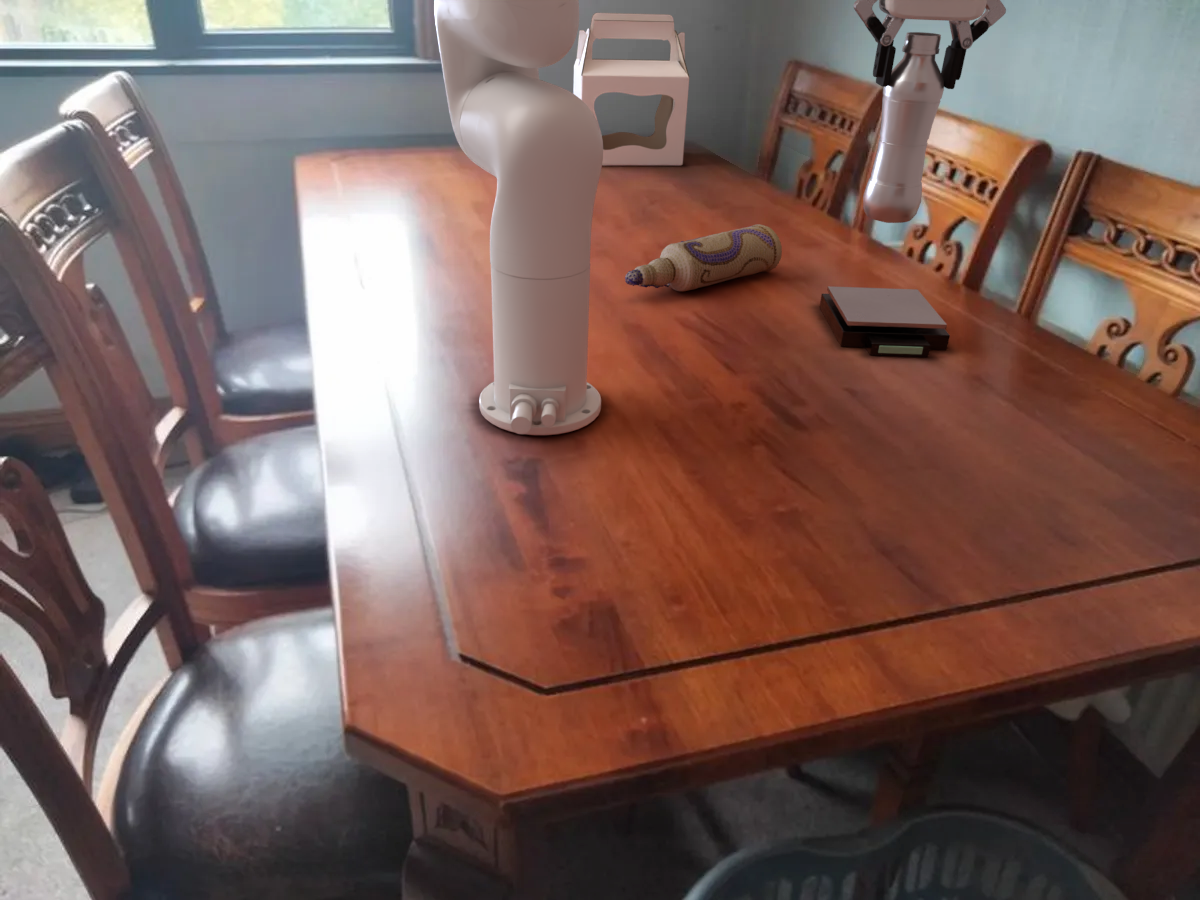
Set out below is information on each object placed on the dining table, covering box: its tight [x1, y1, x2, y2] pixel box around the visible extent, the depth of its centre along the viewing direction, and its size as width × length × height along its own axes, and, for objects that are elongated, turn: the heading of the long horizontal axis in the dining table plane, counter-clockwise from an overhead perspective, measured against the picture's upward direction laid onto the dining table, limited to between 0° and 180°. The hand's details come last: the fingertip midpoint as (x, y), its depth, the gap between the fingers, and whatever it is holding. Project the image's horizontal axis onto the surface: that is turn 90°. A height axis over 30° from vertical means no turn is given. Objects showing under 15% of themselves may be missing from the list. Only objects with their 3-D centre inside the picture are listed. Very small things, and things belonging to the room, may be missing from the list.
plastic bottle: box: [862, 31, 945, 224], centre depth 101 cm, size 6×7×20 cm
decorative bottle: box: [624, 224, 783, 292], centre depth 127 cm, size 26×8×7 cm, turn 125°
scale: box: [819, 285, 951, 358], centre depth 115 cm, size 16×13×3 cm
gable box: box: [572, 12, 690, 167], centre depth 187 cm, size 22×13×28 cm, turn 98°
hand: (914, 84), depth 99 cm, fingers closed on plastic bottle, 6 cm apart
